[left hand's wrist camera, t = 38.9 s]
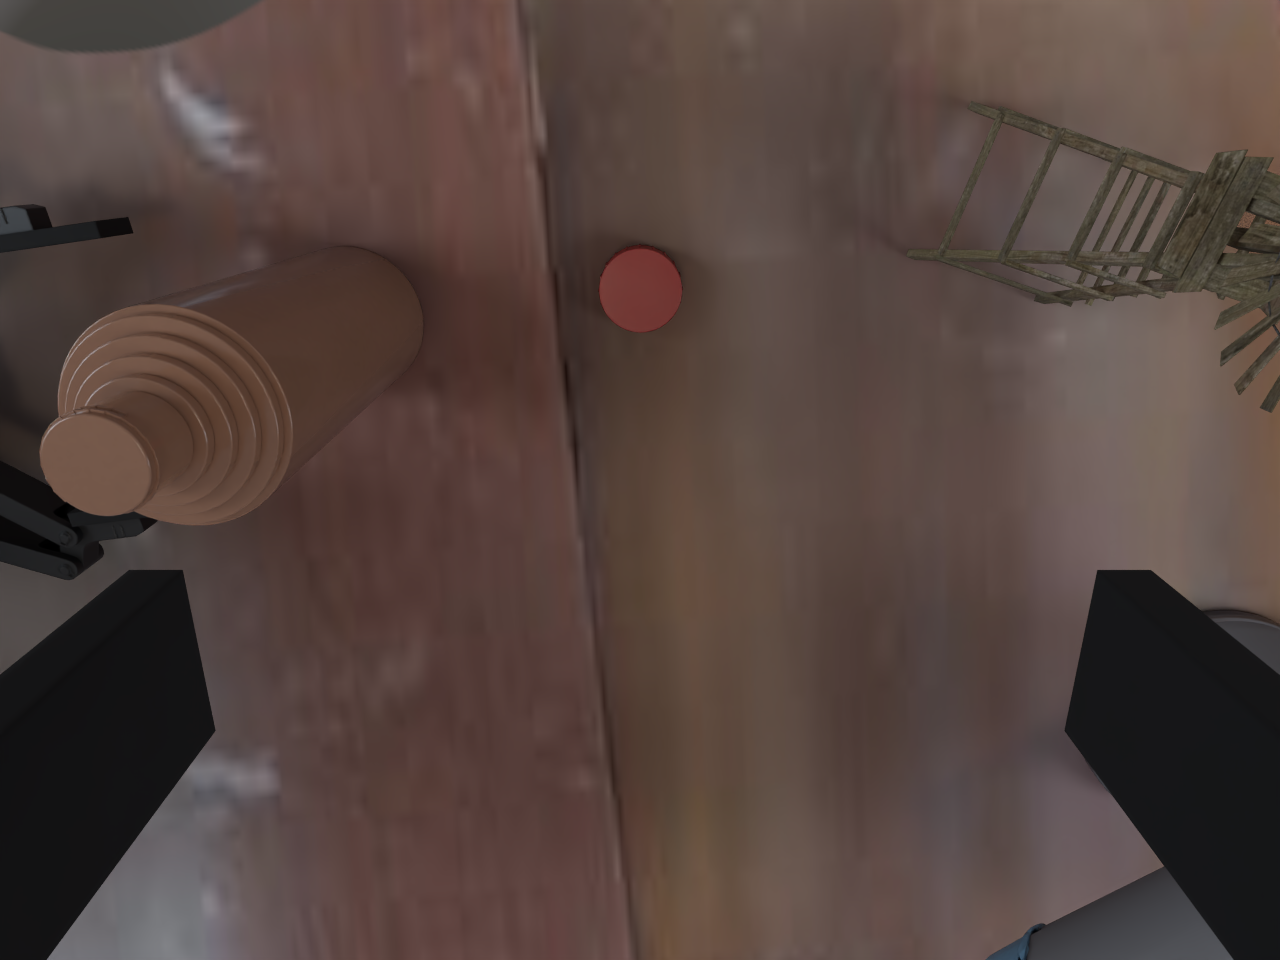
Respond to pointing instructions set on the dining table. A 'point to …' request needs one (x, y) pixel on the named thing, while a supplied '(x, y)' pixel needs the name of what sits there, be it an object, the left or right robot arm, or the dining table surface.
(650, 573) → the dining table surface
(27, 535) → the right robot arm
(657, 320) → the cap
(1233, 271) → the miniature windmill
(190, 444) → the bottle
